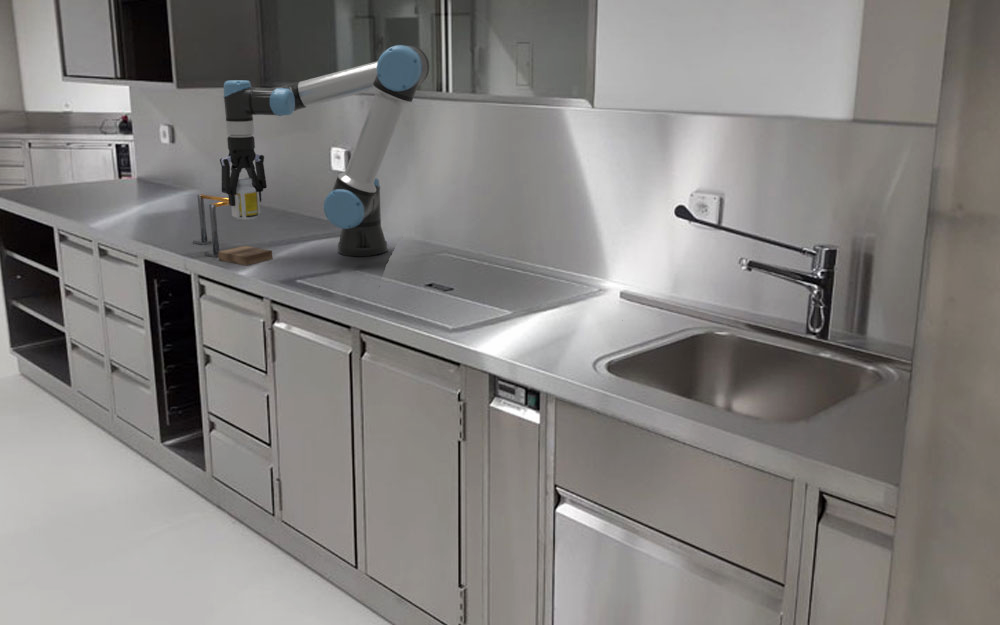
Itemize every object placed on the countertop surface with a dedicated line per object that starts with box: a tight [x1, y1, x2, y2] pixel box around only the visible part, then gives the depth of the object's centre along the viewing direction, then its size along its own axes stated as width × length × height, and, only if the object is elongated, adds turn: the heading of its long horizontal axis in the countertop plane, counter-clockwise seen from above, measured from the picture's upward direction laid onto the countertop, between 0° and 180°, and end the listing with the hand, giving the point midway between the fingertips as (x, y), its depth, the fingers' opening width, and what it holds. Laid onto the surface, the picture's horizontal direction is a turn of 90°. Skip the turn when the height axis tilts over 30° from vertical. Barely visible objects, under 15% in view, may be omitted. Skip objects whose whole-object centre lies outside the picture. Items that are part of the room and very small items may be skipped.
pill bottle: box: [235, 177, 259, 221], centre depth 271 cm, size 6×6×12 cm
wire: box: [192, 193, 230, 258], centre depth 286 cm, size 22×14×16 cm, turn 55°
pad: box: [218, 245, 273, 266], centre depth 274 cm, size 12×10×2 cm
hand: (246, 214), depth 272 cm, fingers closed on pill bottle, 6 cm apart
